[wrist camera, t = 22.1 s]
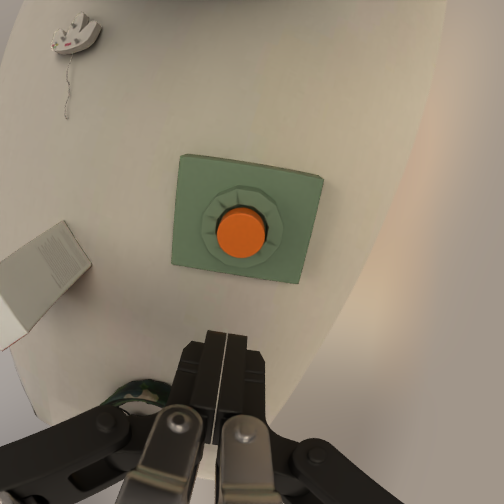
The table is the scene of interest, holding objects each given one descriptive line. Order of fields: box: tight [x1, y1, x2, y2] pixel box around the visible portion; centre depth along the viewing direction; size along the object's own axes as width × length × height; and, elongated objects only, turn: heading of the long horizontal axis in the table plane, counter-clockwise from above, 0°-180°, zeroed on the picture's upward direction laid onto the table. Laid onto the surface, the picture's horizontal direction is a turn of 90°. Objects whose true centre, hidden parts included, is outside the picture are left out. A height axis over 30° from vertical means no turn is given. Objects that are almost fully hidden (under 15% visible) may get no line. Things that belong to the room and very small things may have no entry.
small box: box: [0, 221, 91, 351], centre depth 23 cm, size 8×6×13 cm
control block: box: [171, 154, 324, 284], centre depth 25 cm, size 12×10×4 cm
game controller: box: [51, 12, 102, 119], centre depth 19 cm, size 6×12×3 cm, turn 10°
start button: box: [217, 208, 265, 258], centre depth 22 cm, size 4×4×2 cm
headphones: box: [100, 379, 171, 416], centre depth 36 cm, size 13×13×20 cm
